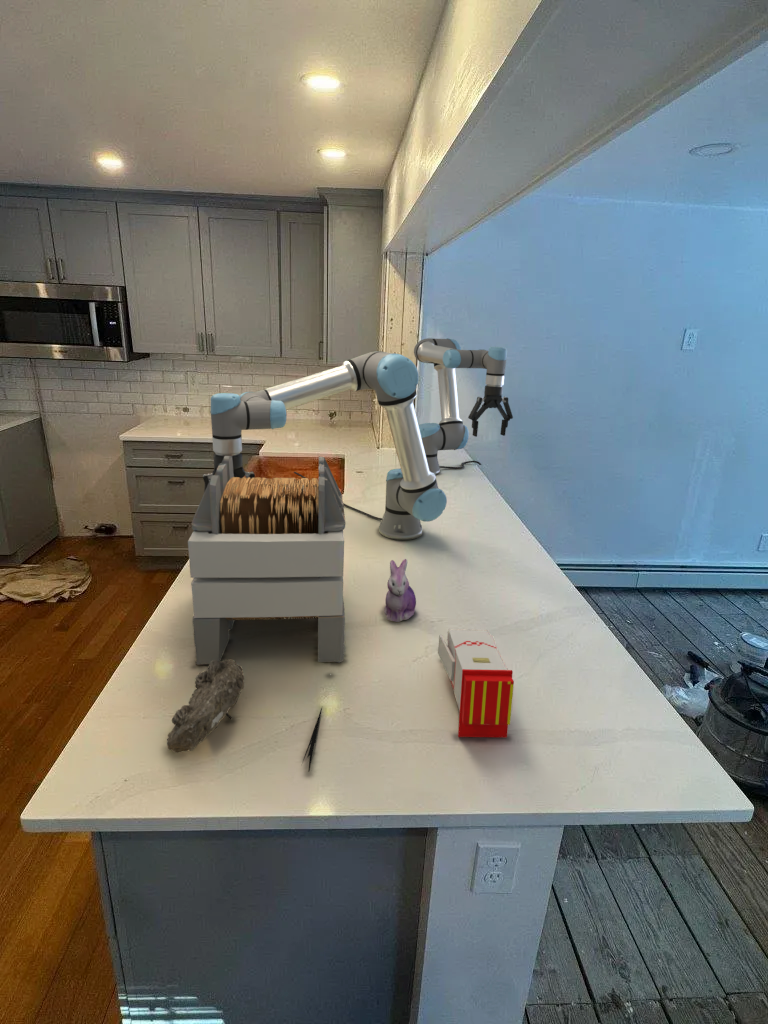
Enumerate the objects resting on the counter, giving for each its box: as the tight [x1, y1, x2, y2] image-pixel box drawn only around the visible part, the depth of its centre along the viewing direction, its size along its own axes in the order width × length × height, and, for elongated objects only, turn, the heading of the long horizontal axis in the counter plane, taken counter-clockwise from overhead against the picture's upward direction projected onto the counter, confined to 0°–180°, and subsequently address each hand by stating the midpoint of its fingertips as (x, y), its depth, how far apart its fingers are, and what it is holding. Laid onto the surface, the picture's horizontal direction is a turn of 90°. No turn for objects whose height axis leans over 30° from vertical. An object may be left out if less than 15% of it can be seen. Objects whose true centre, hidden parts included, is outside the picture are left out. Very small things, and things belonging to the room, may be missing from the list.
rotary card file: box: [187, 455, 346, 666], centre depth 133 cm, size 34×33×41 cm
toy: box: [437, 628, 515, 738], centre depth 117 cm, size 12×13×30 cm
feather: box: [301, 673, 332, 771], centre depth 108 cm, size 2×28×2 cm
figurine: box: [384, 558, 417, 623], centre depth 145 cm, size 9×10×15 cm
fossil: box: [166, 658, 245, 754], centre depth 106 cm, size 22×10×15 cm
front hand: (232, 531), depth 159 cm, fingers closed on small box, 7 cm apart
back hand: (488, 435), depth 244 cm, fingers open, 13 cm apart
